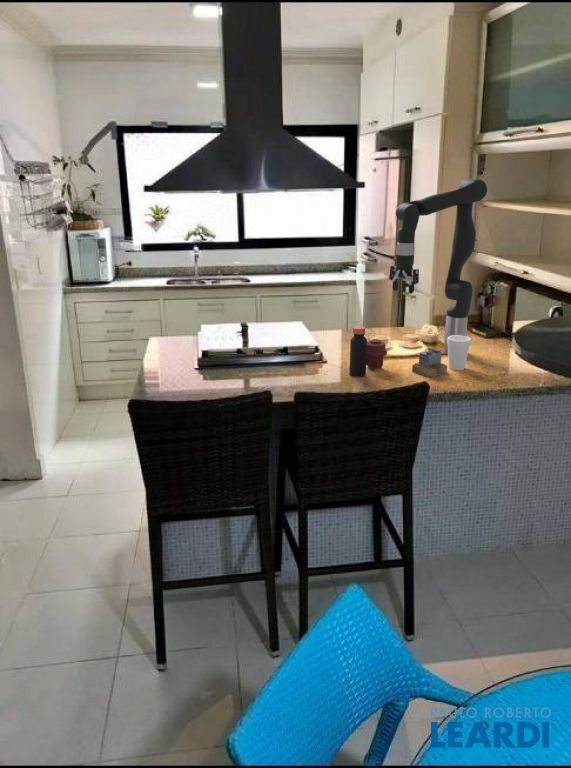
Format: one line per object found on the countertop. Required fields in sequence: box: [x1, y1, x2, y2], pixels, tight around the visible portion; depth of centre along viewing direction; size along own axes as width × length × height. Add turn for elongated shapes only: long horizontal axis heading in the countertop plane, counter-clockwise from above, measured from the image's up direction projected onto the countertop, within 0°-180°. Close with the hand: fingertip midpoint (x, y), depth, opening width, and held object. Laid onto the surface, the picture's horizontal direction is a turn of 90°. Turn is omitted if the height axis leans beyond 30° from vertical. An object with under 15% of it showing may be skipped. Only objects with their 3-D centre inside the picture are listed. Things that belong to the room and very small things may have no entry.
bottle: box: [349, 325, 368, 378], centre depth 244 cm, size 7×7×20 cm
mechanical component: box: [366, 338, 388, 372], centre depth 253 cm, size 12×10×10 cm
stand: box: [412, 361, 448, 378], centre depth 249 cm, size 10×10×4 cm
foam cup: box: [447, 335, 472, 371], centre depth 252 cm, size 10×9×13 cm
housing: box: [418, 347, 443, 368], centre depth 248 cm, size 8×5×6 cm, turn 128°
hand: (402, 291), depth 256 cm, fingers open, 8 cm apart
